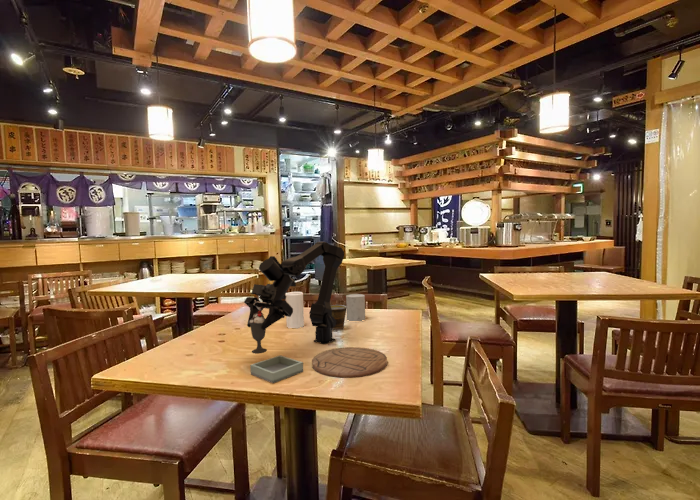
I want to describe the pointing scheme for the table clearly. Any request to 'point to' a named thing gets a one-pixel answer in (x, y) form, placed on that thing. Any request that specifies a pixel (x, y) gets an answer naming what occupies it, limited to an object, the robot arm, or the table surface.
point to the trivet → (349, 362)
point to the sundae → (257, 331)
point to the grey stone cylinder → (355, 307)
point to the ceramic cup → (338, 316)
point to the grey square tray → (276, 368)
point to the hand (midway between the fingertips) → (255, 327)
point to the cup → (295, 309)
